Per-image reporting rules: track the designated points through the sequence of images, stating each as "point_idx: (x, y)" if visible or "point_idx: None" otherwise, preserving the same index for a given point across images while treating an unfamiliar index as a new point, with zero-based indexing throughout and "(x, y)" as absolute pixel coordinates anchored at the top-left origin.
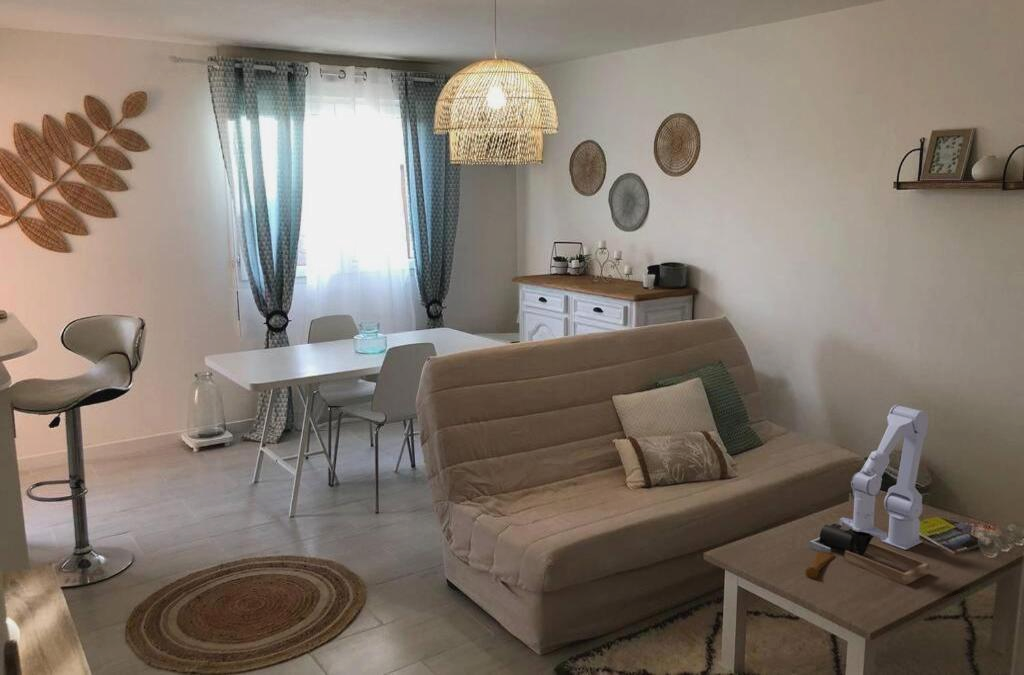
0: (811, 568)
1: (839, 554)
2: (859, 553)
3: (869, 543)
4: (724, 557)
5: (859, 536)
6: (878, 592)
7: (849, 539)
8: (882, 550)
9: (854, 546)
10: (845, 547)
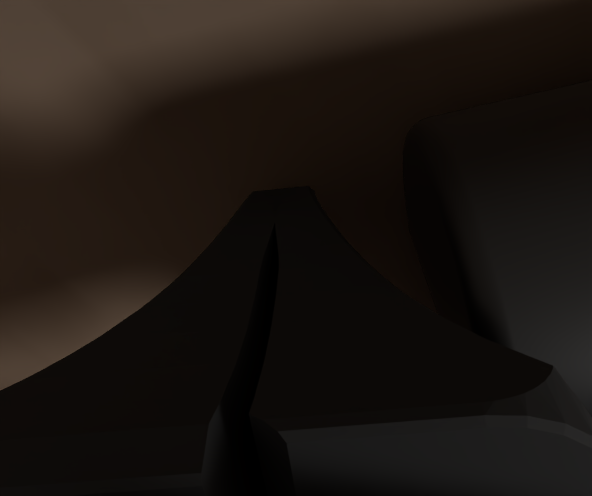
0: None
1: (561, 5)
2: (270, 195)
3: None
4: None
5: (108, 436)
6: None
7: (523, 240)
8: None
9: (426, 269)
10: (521, 97)
